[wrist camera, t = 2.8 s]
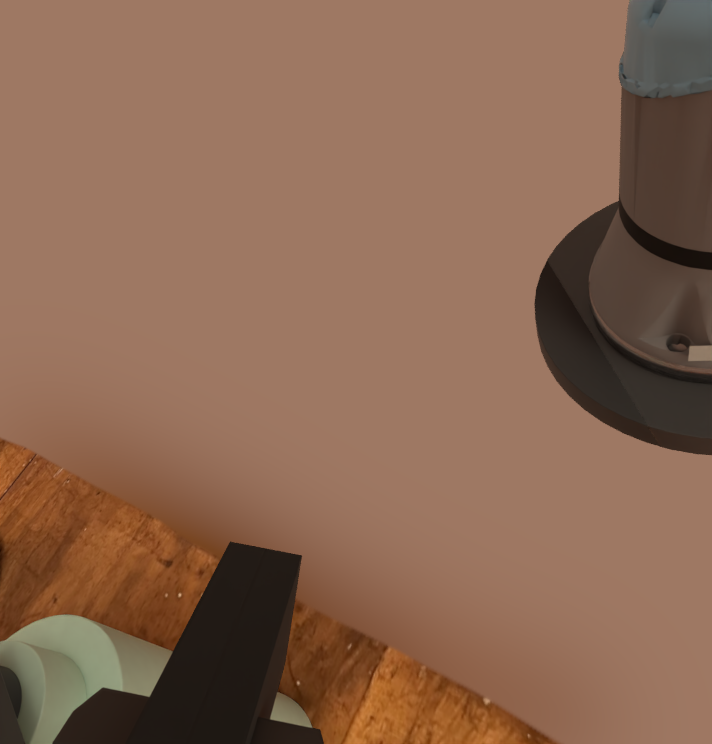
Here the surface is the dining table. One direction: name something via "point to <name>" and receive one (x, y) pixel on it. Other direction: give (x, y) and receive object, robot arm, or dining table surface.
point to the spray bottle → (80, 675)
